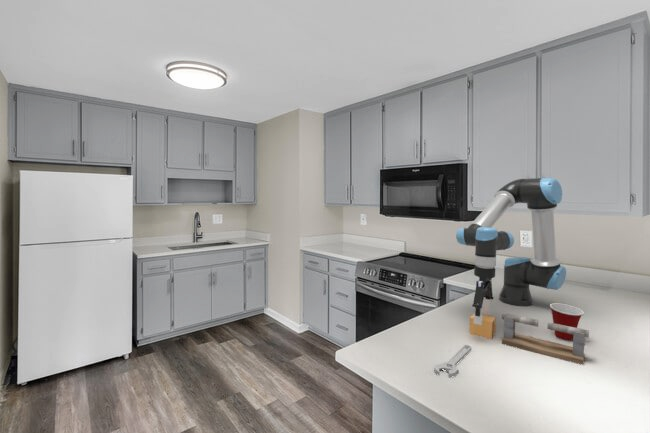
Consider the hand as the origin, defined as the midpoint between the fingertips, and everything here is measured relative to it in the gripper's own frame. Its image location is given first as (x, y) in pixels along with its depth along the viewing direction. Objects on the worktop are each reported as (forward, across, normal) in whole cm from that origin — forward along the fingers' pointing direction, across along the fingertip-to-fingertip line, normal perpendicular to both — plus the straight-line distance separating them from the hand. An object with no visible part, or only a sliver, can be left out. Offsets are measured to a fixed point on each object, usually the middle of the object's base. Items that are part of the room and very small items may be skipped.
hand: (482, 319), depth 131 cm
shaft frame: (+6, 0, +20) cm, 21 cm away
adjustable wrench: (+7, +29, 0) cm, 30 cm away
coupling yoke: (+6, 0, 0) cm, 6 cm away
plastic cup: (+6, -17, +26) cm, 32 cm away
